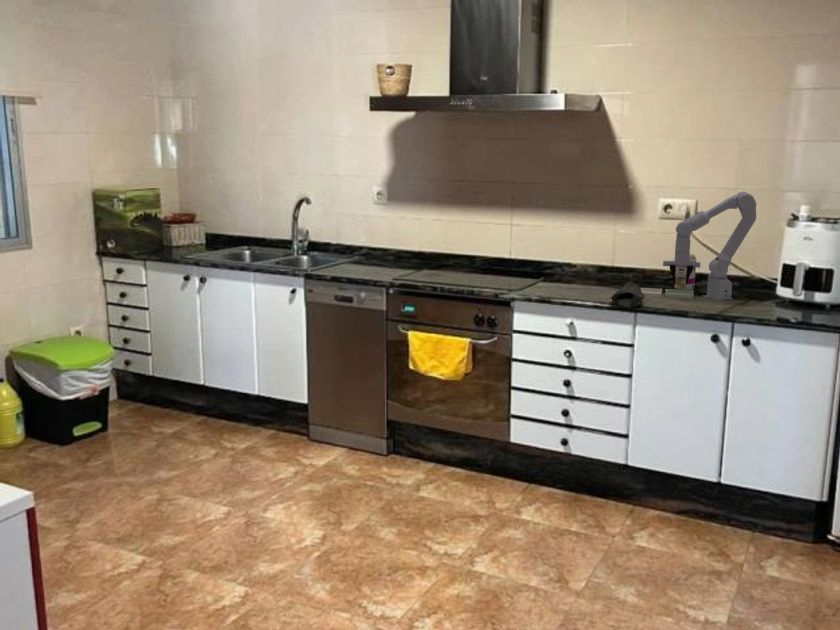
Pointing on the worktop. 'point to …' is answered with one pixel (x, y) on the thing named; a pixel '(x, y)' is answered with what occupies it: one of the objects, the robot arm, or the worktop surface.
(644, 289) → the white tray
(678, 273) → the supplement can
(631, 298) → the dark grey rubber slipper
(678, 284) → the letter cube
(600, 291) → the worktop surface
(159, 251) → the worktop surface
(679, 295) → the sage tray
